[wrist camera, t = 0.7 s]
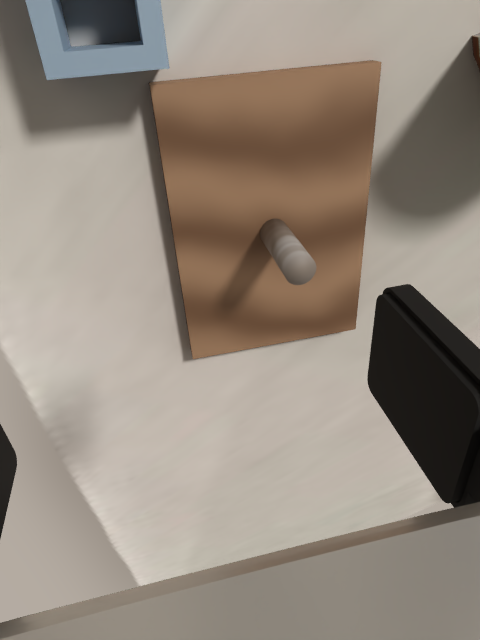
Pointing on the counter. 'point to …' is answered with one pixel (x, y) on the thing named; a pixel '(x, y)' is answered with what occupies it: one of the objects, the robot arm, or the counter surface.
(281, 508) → the counter surface
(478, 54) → the food container
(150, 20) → the collar
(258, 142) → the shaft stand
